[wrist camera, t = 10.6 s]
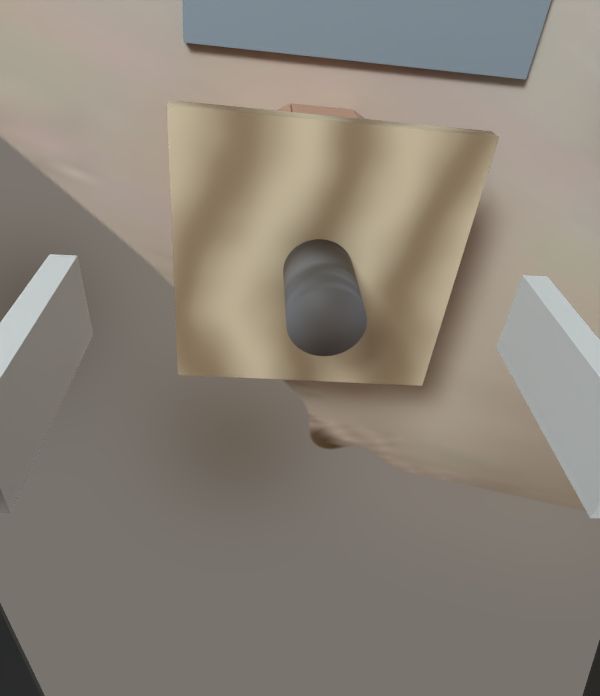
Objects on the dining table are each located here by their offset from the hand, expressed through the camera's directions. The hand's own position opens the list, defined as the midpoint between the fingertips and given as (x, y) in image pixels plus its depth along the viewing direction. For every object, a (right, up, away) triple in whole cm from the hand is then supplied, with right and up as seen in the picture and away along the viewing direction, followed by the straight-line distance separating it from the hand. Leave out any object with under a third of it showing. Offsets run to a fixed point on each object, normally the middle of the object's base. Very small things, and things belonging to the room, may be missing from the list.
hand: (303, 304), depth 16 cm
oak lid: (+1, +4, +19) cm, 19 cm away
